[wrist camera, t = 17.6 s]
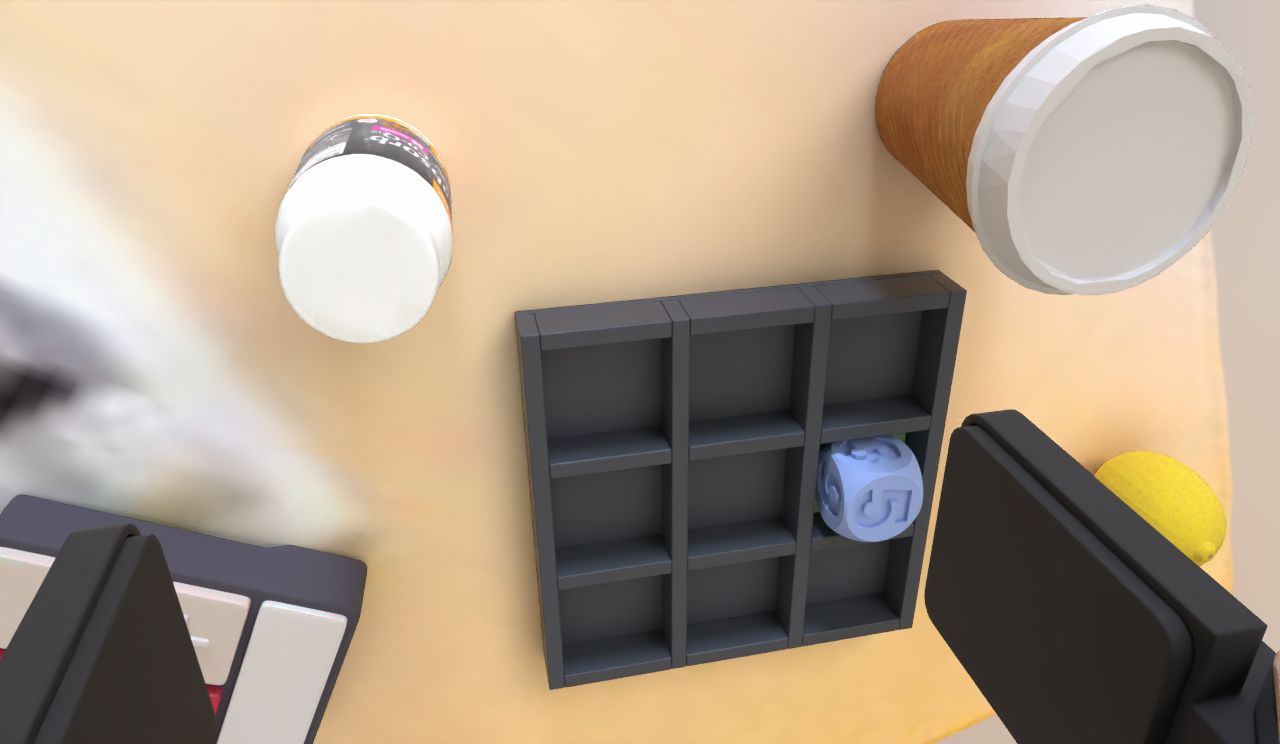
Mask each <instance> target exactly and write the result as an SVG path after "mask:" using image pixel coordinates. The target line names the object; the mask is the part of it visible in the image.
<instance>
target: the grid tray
mask: <svg viewBox="0 0 1280 744" xmlns="http://www.w3.org/2000/svg"><path fill="white" fill-rule="evenodd" d="M966 292H967V291H966V290H965V289H964V288H962V287H961V286H960V285H958V284H957V283H956V282H954V281H953V280H951V279H950V278H949V277H947V276H946V275H944V274H943V273H942V272H940V271H939V270H936V271H925V272H915V273H905V274H895V275H885V276H874V277H864V278H854V279H844V280H834V281H823V282H813V283H803V284H793V285H783V286H772V287H762V288H752V289H742V290H732V291H722V292H711V293H701V294H691V295H681V296H671V297H660V298H650V299H640V300H630V301H620V302H609V303H599V304H589V305H579V306H569V307H558V308H548V309H538V310H528V311H518V312H515V322H516V334H517V345H518V357H519V369H520V381H521V392H522V404H523V416H524V428H525V439H526V451H527V463H528V475H529V486H530V498H531V510H532V522H533V534H534V545H535V557H536V569H537V581H538V592H539V604H540V616H541V628H542V639H543V651H544V658H545V664H546V670H547V677H548V683H549V689H550V690H553V689H559V688H564V687H571V686H577V685H583V684H588V683H594V682H600V681H606V680H612V679H617V678H623V677H629V676H635V675H640V674H646V673H652V672H658V671H664V670H669V669H671V668H672V669H674V668H680V667H685V666H686V665H687V666H691V665H697V664H703V663H709V662H715V661H720V660H726V659H732V658H738V657H744V656H749V655H755V654H761V653H767V652H772V651H778V650H784V649H787V648H788V649H790V648H796V647H801V646H808V645H813V644H819V643H825V642H831V641H837V640H842V639H848V638H854V637H860V636H866V635H871V634H877V633H883V632H889V631H894V630H898V629H899V630H901V629H907V628H912V624H913V618H914V612H915V606H916V600H917V593H918V587H919V581H920V575H921V569H922V563H923V557H924V550H925V544H926V538H927V532H928V526H929V520H930V514H931V507H932V501H933V495H934V489H935V483H936V477H937V470H938V464H939V458H940V452H941V446H942V440H943V434H944V427H945V421H946V415H947V409H948V403H949V397H950V391H951V384H952V378H953V372H954V366H955V360H956V354H957V347H958V341H959V335H960V329H961V323H962V317H963V311H964V304H965V298H966ZM884 435H891V436H893V437H895V438H897V439H899V440H901V441H902V442H903V443H905V444H906V445H907V446H908V447H909V448H910V449H911V451H912V452H913V454H914V455H915V457H916V460H917V462H918V465H919V468H920V471H921V475H922V481H923V502H922V506H921V509H920V512H919V513H918V515H917V517H916V518H915V520H914V521H913V522H912V523H911V525H910V526H909V527H908V528H906V529H905V530H904V531H903V532H901V533H900V534H898V535H896V536H894V537H892V538H889V539H887V540H883V541H878V542H863V541H857V540H852V539H849V538H846V537H844V536H842V535H840V534H838V533H836V532H835V531H834V530H832V529H831V528H830V527H829V526H828V525H827V524H826V523H825V522H824V520H823V518H822V516H821V514H820V511H819V509H818V505H817V502H816V497H815V492H816V481H817V470H818V458H819V453H820V451H821V450H822V449H823V448H824V447H825V445H827V444H828V443H831V442H839V441H846V440H854V439H861V438H869V437H877V436H884Z"/></svg>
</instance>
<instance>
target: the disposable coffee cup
mask: <svg viewBox="0 0 1280 744" xmlns="http://www.w3.org/2000/svg"><path fill="white" fill-rule="evenodd" d="M875 113H876V120H877V127H878V131H879V134H880V137H881V140H882V141H883V143H884V145H885V146H886V148H887V150H888V151H889V152H890V153H891V154H892V155H893V156H894V157H895V158H896V159H897V160H898V161H900V162H901V163H902V164H903V165H904V166H905V167H906V168H907V169H908V170H909V171H910V172H911V173H912V174H914V175H915V176H916V177H917V178H918V179H919V180H920V181H921V182H922V183H923V184H924V185H925V186H926V187H927V188H928V189H929V190H930V191H932V192H933V193H934V194H935V195H936V196H937V197H938V198H939V199H940V200H941V201H942V202H943V203H944V204H945V205H947V206H948V207H949V208H950V209H951V210H952V211H953V212H954V213H955V214H956V215H957V216H958V217H959V218H960V219H962V220H963V221H964V222H965V223H966V224H967V225H968V226H969V227H970V228H971V229H972V230H973V231H974V232H975V233H976V234H977V237H978V239H979V241H980V244H981V246H982V248H983V250H984V251H985V253H986V254H987V255H988V257H989V258H990V259H991V261H992V262H993V263H994V265H995V266H996V267H997V268H998V269H999V270H1000V271H1001V272H1002V273H1004V274H1005V275H1006V276H1007V277H1009V278H1010V279H1012V280H1014V281H1015V282H1017V283H1019V284H1020V285H1022V286H1024V287H1026V288H1028V289H1032V290H1036V291H1039V292H1043V293H1047V294H1059V295H1069V294H1080V295H1101V294H1108V293H1115V292H1119V291H1122V290H1125V289H1128V288H1131V287H1134V286H1137V285H1139V284H1141V283H1143V282H1145V281H1147V280H1149V279H1151V278H1153V277H1155V276H1157V275H1159V274H1160V273H1161V272H1163V271H1164V270H1165V269H1167V268H1168V267H1169V266H1171V265H1172V264H1173V263H1175V262H1176V261H1177V260H1179V259H1180V258H1181V257H1183V256H1184V255H1185V254H1187V253H1188V252H1189V251H1191V250H1192V249H1193V248H1194V247H1195V246H1196V244H1197V243H1198V242H1199V241H1200V240H1201V239H1202V238H1203V237H1204V236H1205V235H1206V234H1207V233H1208V231H1209V230H1210V229H1211V227H1212V226H1213V225H1214V224H1215V222H1216V221H1217V220H1218V218H1219V217H1220V216H1221V214H1222V213H1223V211H1224V210H1225V208H1226V206H1227V204H1228V202H1229V200H1230V198H1231V196H1232V194H1233V192H1234V191H1235V189H1236V187H1237V185H1238V183H1239V181H1240V178H1241V175H1242V173H1243V170H1244V167H1245V165H1246V162H1247V158H1248V153H1249V149H1250V145H1251V138H1252V128H1253V109H1252V102H1251V94H1250V88H1249V85H1248V82H1247V80H1246V78H1245V76H1244V74H1243V72H1242V70H1241V68H1240V65H1239V63H1238V62H1237V59H1236V58H1235V57H1234V56H1233V55H1232V54H1231V53H1229V52H1228V51H1227V50H1226V49H1225V48H1224V47H1223V46H1222V45H1220V44H1219V42H1218V40H1217V39H1216V37H1215V36H1214V35H1213V34H1212V33H1211V32H1209V30H1208V29H1207V28H1206V27H1205V26H1204V25H1203V24H1201V23H1200V21H1198V20H1196V19H1194V18H1192V17H1190V16H1188V15H1186V14H1184V13H1182V12H1180V11H1178V10H1176V9H1171V8H1165V7H1159V6H1153V5H1135V6H1127V7H1120V8H1113V9H1107V10H1104V11H1102V12H1100V13H1097V14H1095V15H1092V16H1090V17H1085V18H1030V19H980V20H951V21H944V22H940V23H937V24H934V25H931V26H929V27H927V28H925V29H924V30H922V31H920V32H918V33H917V34H916V35H914V36H913V37H912V38H911V39H910V40H908V41H907V42H906V43H905V44H904V45H903V46H902V47H901V48H900V49H899V50H898V51H897V53H896V54H895V55H894V57H893V58H892V60H891V61H890V63H889V64H888V66H887V68H886V70H885V72H884V74H883V77H882V79H881V81H880V85H879V89H878V93H877V97H876V110H875Z"/></svg>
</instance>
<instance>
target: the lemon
mask: <svg viewBox="0 0 1280 744" xmlns="http://www.w3.org/2000/svg"><path fill="white" fill-rule="evenodd" d="M1094 476H1095V477H1096V478H1097V479H1098V480H1099V481H1100V482H1101V483H1103V484H1104V485H1105V486H1106V487H1107V488H1108V489H1110V490H1111V491H1112V492H1113V493H1114V494H1115V495H1117V496H1118V497H1119V498H1120V499H1121V500H1122V501H1124V502H1125V503H1126V504H1127V505H1128V506H1129V507H1130V508H1132V509H1133V510H1134V511H1135V512H1136V513H1137V514H1139V515H1140V516H1141V517H1142V518H1143V519H1144V520H1146V521H1147V522H1148V523H1149V524H1150V525H1151V526H1153V527H1154V528H1155V529H1156V530H1157V531H1158V532H1159V533H1161V534H1162V535H1163V536H1164V537H1165V538H1166V539H1168V540H1169V541H1170V542H1171V543H1172V544H1173V545H1175V546H1176V547H1177V548H1178V549H1179V550H1180V551H1182V552H1183V553H1184V554H1185V555H1186V556H1187V557H1189V558H1190V559H1191V560H1192V561H1193V562H1194V563H1195V564H1197V565H1198V566H1201V565H1203V564H1204V563H1206V562H1208V561H1210V560H1211V559H1213V558H1214V556H1215V554H1216V553H1217V552H1218V550H1219V549H1220V547H1221V545H1222V543H1223V541H1224V538H1225V532H1226V518H1225V513H1224V509H1223V507H1222V505H1221V503H1220V501H1219V500H1218V498H1217V497H1216V495H1215V493H1214V492H1213V491H1212V489H1211V488H1210V487H1209V485H1208V484H1207V483H1206V482H1205V481H1204V480H1203V479H1202V478H1201V477H1200V476H1199V475H1198V474H1197V473H1195V472H1194V471H1193V470H1191V469H1190V468H1188V467H1187V466H1185V465H1184V464H1183V463H1181V462H1179V461H1177V460H1176V459H1173V458H1171V457H1169V456H1166V455H1163V454H1159V453H1155V452H1150V451H1132V452H1127V453H1123V454H1120V455H1117V456H1115V457H1113V458H1111V459H1110V460H1108V461H1107V462H1105V463H1104V464H1103V465H1102V466H1101V467H1100V468H1099V469H1098V470H1097V472H1096V473H1095V475H1094Z"/></svg>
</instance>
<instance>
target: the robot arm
mask: <svg viewBox="0 0 1280 744" xmlns="http://www.w3.org/2000/svg"><path fill="white" fill-rule="evenodd" d="M924 597H925V605H926V609H927V612H928V615H929V618H930V619H931V621H932V623H933V624H934V626H935V627H936V629H937V630H938V631H939V633H940V634H941V636H942V637H943V639H944V640H945V641H946V643H947V644H948V646H949V647H950V648H951V650H952V651H953V653H954V654H955V656H956V657H957V658H958V660H959V661H960V663H961V664H962V665H963V667H964V668H965V670H966V671H967V673H968V674H969V675H970V677H971V678H972V680H973V681H974V682H975V684H976V685H977V687H978V688H979V690H980V691H981V692H982V694H983V695H984V697H985V698H986V699H987V701H988V702H989V704H990V705H991V707H992V708H993V709H994V711H995V712H996V714H997V715H998V717H1000V719H1001V721H1002V722H1003V723H1004V725H1005V726H1006V728H1007V729H1008V731H1009V732H1010V734H1011V735H1012V736H1013V738H1014V739H1015V740H1016V742H1017V743H1018V744H1280V651H1279V652H1278V653H1275V652H1274V651H1273V650H1272V649H1271V648H1270V647H1268V646H1267V645H1266V644H1265V643H1264V642H1263V641H1262V638H1263V636H1264V633H1265V631H1266V628H1267V625H1266V624H1265V623H1264V622H1262V620H1260V619H1259V618H1258V617H1257V616H1256V615H1255V614H1253V613H1252V612H1251V611H1250V610H1249V609H1247V608H1246V607H1245V606H1244V605H1243V604H1242V603H1241V602H1239V601H1238V600H1237V599H1236V598H1235V597H1234V596H1233V595H1231V594H1230V593H1229V592H1228V591H1227V590H1226V589H1224V588H1223V587H1222V586H1221V585H1220V584H1219V583H1218V582H1216V581H1215V580H1214V579H1213V578H1212V577H1211V576H1209V575H1208V574H1207V573H1206V572H1205V571H1204V570H1202V569H1201V568H1200V567H1199V566H1198V565H1197V564H1195V563H1194V562H1193V561H1192V560H1191V559H1190V558H1189V557H1187V556H1186V555H1185V554H1184V553H1183V552H1182V551H1180V550H1179V549H1178V548H1177V547H1176V546H1175V545H1173V544H1172V543H1171V542H1170V541H1169V540H1168V539H1166V538H1165V537H1164V536H1163V535H1162V534H1161V533H1159V532H1158V531H1157V530H1156V529H1155V528H1154V527H1153V526H1151V525H1150V524H1149V523H1148V522H1147V521H1146V520H1144V519H1143V518H1142V517H1141V516H1140V515H1139V514H1137V513H1136V512H1135V511H1134V510H1133V509H1132V508H1130V507H1129V506H1128V505H1127V504H1126V503H1125V502H1124V501H1122V500H1121V499H1120V498H1119V497H1118V496H1117V495H1115V494H1114V493H1113V492H1112V491H1111V490H1110V489H1108V488H1107V487H1106V486H1105V485H1104V484H1103V483H1101V482H1100V481H1099V480H1098V479H1097V478H1096V477H1095V476H1093V475H1092V474H1091V473H1090V472H1089V471H1088V470H1086V469H1085V468H1084V467H1083V466H1082V465H1081V464H1079V463H1078V462H1077V461H1076V460H1075V459H1074V458H1072V457H1071V456H1070V455H1069V454H1068V453H1067V452H1066V451H1064V450H1063V449H1062V448H1061V447H1060V446H1059V445H1057V444H1056V443H1055V442H1054V441H1053V440H1052V439H1050V438H1049V437H1048V436H1047V435H1046V434H1045V433H1043V432H1042V431H1041V430H1040V429H1039V428H1038V427H1036V426H1035V425H1034V424H1033V423H1032V422H1031V421H1030V420H1028V419H1027V418H1026V417H1025V416H1024V415H1023V414H1021V413H1020V412H1018V411H1016V410H1002V411H994V412H987V413H979V414H971V415H969V416H968V417H966V418H965V420H964V421H963V423H962V426H961V427H960V428H957V429H955V430H954V431H953V433H952V435H951V438H950V443H949V449H948V455H947V461H946V467H945V473H944V479H943V485H942V491H941V497H940V503H939V509H938V515H937V521H936V527H935V533H934V539H933V545H932V551H931V557H930V562H929V568H928V574H927V580H926V586H925V596H924ZM215 741H216V718H215V712H214V708H213V705H212V702H211V699H210V696H209V693H208V690H207V686H206V683H205V680H204V677H203V674H202V671H201V668H200V665H199V662H198V659H197V655H196V652H195V649H194V646H193V643H192V640H191V637H190V634H189V631H188V627H187V624H186V621H185V618H184V615H183V612H182V609H181V606H180V603H179V599H178V596H177V593H176V590H175V587H174V584H173V581H172V578H171V575H170V571H169V568H168V565H167V562H166V559H165V556H164V553H163V550H162V547H161V544H160V542H159V539H158V538H157V537H156V535H153V534H149V535H142V536H141V534H140V531H139V530H138V529H137V527H136V526H135V525H133V524H122V525H114V526H107V527H99V528H91V529H84V530H76V531H74V532H71V533H70V534H69V536H68V537H67V538H66V540H65V542H64V543H63V545H62V547H61V549H60V551H59V553H58V554H57V556H56V558H55V560H54V562H53V564H52V565H51V567H50V569H49V571H48V573H47V575H46V577H45V578H44V580H43V582H42V584H41V586H40V588H39V589H38V591H37V593H36V595H35V597H34V599H33V600H32V602H31V604H30V606H29V608H28V610H27V611H26V613H25V615H24V617H23V619H22V621H21V622H20V624H19V626H18V628H17V630H16V632H15V633H14V635H13V637H12V639H11V641H10V643H9V644H8V646H7V648H6V650H5V652H4V654H3V655H2V657H1V659H0V744H215Z"/></svg>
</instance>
